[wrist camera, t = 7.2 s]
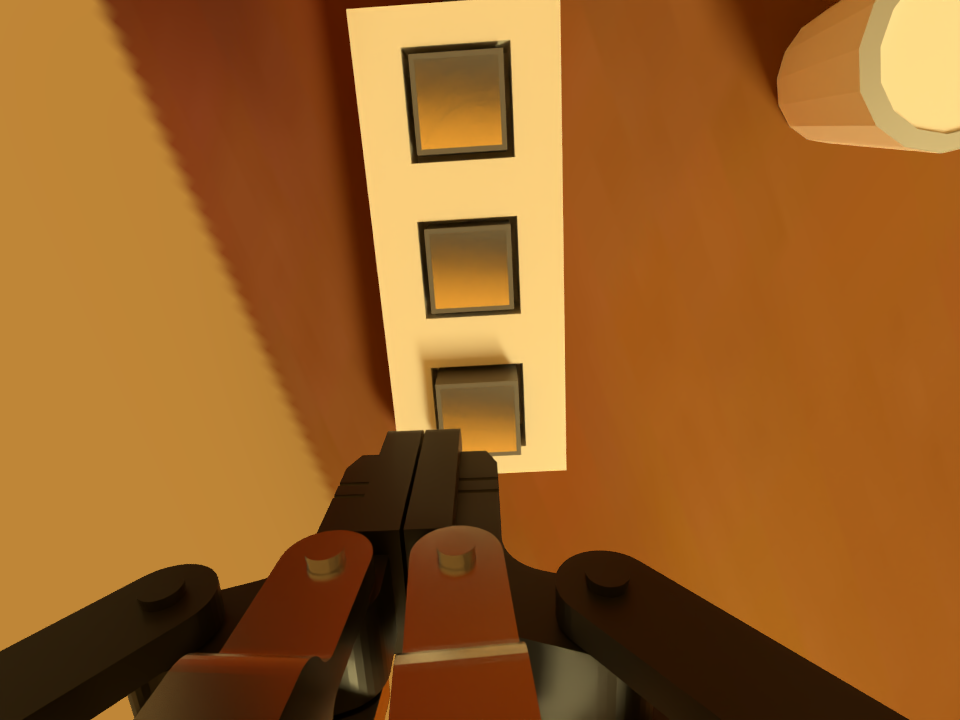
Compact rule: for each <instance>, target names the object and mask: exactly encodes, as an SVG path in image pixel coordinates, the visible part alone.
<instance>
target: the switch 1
mask: <svg viewBox="0 0 960 720" xmlns="http://www.w3.org/2000/svg"><path fill="white" fill-rule="evenodd" d="M408 60H409V71H410V82H411V93H412V104H413V115H414V126H415V137H416V148H417V155H418V156H422V157H428V156H444V155H459V154H474V153H490V152H505V151H506V150H507V128H506V104H505V81H504V57H503V48H490V49H476V50H462V51H448V52H434V53H419V54H408Z"/></svg>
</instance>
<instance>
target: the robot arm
mask: <svg viewBox="0 0 960 720" xmlns="http://www.w3.org/2000/svg"><path fill="white" fill-rule="evenodd" d="M394 654H396V656H395V660H394V667H393V677H392V689H391V699H390V686H389V675H390V672H391V666H392V660H393V655H394ZM127 695H128V698H129V702H130V705H131V708H132V711H133V715H134V720H384V719H385V715H386V712H387V708H388V704H389V699H390V710H389V720H909V719H907V718H905V717H904V716H902V715H900V714H899V713H897V712H895V711H893V710H892V709H890V708H888V707H887V706H885V705H883V704H882V703H880V702H878V701H876V700H875V699H873V698H871V697H870V696H868V695H866V694H865V693H863V692H861V691H859V690H858V689H856V688H854V687H853V686H851V685H849V684H848V683H846V682H844V681H842V680H841V679H839V678H837V677H836V676H834V675H832V674H831V673H829V672H827V671H825V670H824V669H822V668H820V667H819V666H817V665H815V664H814V663H812V662H810V661H808V660H807V659H805V658H803V657H802V656H800V655H798V654H797V653H795V652H793V651H791V650H790V649H788V648H786V647H785V646H783V645H781V644H780V643H778V642H776V641H774V640H773V639H771V638H769V637H768V636H766V635H764V634H763V633H761V632H759V631H757V630H756V629H754V628H752V627H751V626H749V625H747V624H746V623H744V622H742V621H740V620H739V619H737V618H735V617H734V616H732V615H730V614H729V613H727V612H725V611H723V610H722V609H720V608H718V607H717V606H715V605H713V604H711V603H710V602H708V601H706V600H705V599H703V598H701V597H700V596H698V595H696V594H694V593H693V592H691V591H689V590H688V589H686V588H684V587H683V586H681V585H679V584H677V583H676V582H674V581H672V580H671V579H669V578H667V577H666V576H664V575H662V574H660V573H659V572H657V571H655V570H654V569H652V568H650V567H649V566H647V565H645V564H643V563H642V562H640V561H638V560H636V559H634V558H632V557H630V556H627V555H625V554H621V553H617V552H611V551H588V552H583V553H580V554H577V555H575V556H573V557H571V558H569V559H567V560H566V561H565V562H564V563H563V564H562V565H561V566H560V567H559V569H558V571H557V573H552V572H547V571H542V570H538V569H534V568H531V567H529V566H526V565H524V564H522V563H520V562H519V561H517V560H516V559H514V558H513V557H512V556H511V555H510V554H509V553H508V552H507V551H506V549H505V548H504V545H503V543H502V536H501V519H500V502H499V485H498V468H497V462H496V461H495V460H494V458H493V457H492V456H491V455H490V454H489V453H488V452H487V451H462V436H461V429H460V428H459V429H433V430H426V431H425V433H424V430H411V431H388V433H387V435H386V438H385V441H384V443H383V446H382V449H381V452H380V454H379V455H363V456H362V457H360V458H359V459H358V460H357V461H355V462H354V463H353V464H352V465H350V466H349V467H348V468H347V469H346V471H345V473H344V476H343V478H342V480H341V482H340V486H338V489H337V491H336V493H335V495H334V498H333V499H332V501H331V504H330V506H329V508H328V510H327V512H326V514H325V517H324V519H323V521H322V523H321V525H320V527H319V530H318V532H317V534H315V535H311V536H309V537H306V538H304V539H302V540H300V541H298V542H297V543H295V544H294V545H292V546H291V547H290V548H289V549H288V550H287V551H285V553H284V554H283V555H282V556H281V558H280V560H279V561H278V562H277V564H276V566H275V567H274V569H273V570H272V572H271V573H270V575H269V576H268V578H266V579H262V580H259V581H255V582H251V583H247V584H244V585H240V586H235V587H231V588H228V589H223V590H221V589H220V584H219V580H218V577H217V574H216V573H215V572H214V571H213V570H212V569H210V568H209V567H206V566H203V565H197V564H184V565H177V566H172V567H168V568H164V569H161V570H158V571H155V572H153V573H151V574H148V575H146V576H144V577H142V578H140V579H138V580H136V581H134V582H132V583H130V584H129V585H127V586H125V587H123V588H121V589H119V590H117V591H115V592H113V593H111V594H109V595H107V596H105V597H104V598H102V599H100V600H98V601H96V602H94V603H92V604H90V605H88V606H86V607H85V608H82V609H81V610H79V611H77V612H75V613H73V614H71V615H69V616H67V617H65V618H63V619H61V620H59V621H58V622H56V623H54V624H52V625H50V626H48V627H46V628H44V629H42V630H40V631H38V632H37V633H35V634H33V635H31V636H29V637H27V638H25V639H23V640H21V641H19V642H17V643H16V644H13V645H11V646H10V647H8V648H6V649H4V650H2V651H0V720H91V719H92V718H94V717H95V716H97V715H98V714H100V713H101V712H103V711H104V710H106V709H108V708H109V707H111V706H112V705H114V704H115V703H117V702H118V701H120V700H121V699H123V698H124V697H126V696H127Z"/></svg>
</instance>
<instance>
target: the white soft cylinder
mask: <svg viewBox="0 0 960 720" xmlns="http://www.w3.org/2000/svg"><path fill="white" fill-rule="evenodd" d="M777 92H778V105H779V107H780V109H781V111H782V113H783V115H784V117H785V119H786V121H787V123H788V125H789V126H790V127H791V128H792V129H794V130H795V131H796V132H798V133H799V134H801V135H802V136H803V137H805V138H806V139H807V140H813V141H819V142H825V143H832V144H843V145H854V146H865V147H876V148H887V149H898V150H909V151H920V152H931V153H944V152H949V151H953V150H957V149H960V0H841V1H839V2H838V3H836V4H835V5H833V6H832V7H830V8H829V9H827V10H826V11H824V12H823V13H821V14H820V15H819V16H817V17H816V18H815V19H813V20H812V21H810V22H809V23H808V24H806V25H805V26H804V27H802V28H801V29H800V31H799V32H798V34H797V35H796V37H795V38H794V39H793V41H792V42H791V44H790V45H789V47H788V48H787V49H786V51H785V53H784V56H783V59H782V63H781V66H780V70H779V73H778V76H777Z"/></svg>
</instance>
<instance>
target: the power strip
mask: <svg viewBox="0 0 960 720" xmlns="http://www.w3.org/2000/svg"><path fill="white" fill-rule="evenodd" d="M346 13H347V21H348V29H349V38H350V46H351V55H352V63H353V71H354V80H355V88H356V96H357V105H358V113H359V121H360V130H361V138H362V146H363V155H364V163H365V171H366V180H367V188H368V196H369V205H370V213H371V221H372V230H373V238H374V247H375V255H376V263H377V272H378V280H379V288H380V297H381V305H382V313H383V322H384V330H385V338H386V347H387V355H388V363H389V372H390V380H391V388H392V397H393V405H394V413H395V422H396V430H397V431H411V430H424V433H425V431H426V430H433V429H439V421H438V410H437V399H436V389H435V383H436V379H437V375H438V371H439V368H440V367H459V366H477V365H496V364H515V363H516V370H517V376H518V389H519V413H520V437H521V455H508V456H492V457H493V458H494V460H495V461H496V462H497V468H498V473H514V472H535V471H556V470H566V412H565V336H564V259H563V183H562V106H561V30H560V0H444V2H437V3H423V4H409V5H396V6H382V7H369V8H355V9H346ZM490 48H503V57H504V81H505V104H506V128H507V150H506V151H505V152H490V153H474V154H459V155H444V156H428V157H422V156H418V155H417V148H416V137H415V126H414V115H413V104H412V93H411V82H410V71H409V60H408V54H419V53H434V52H448V51H462V50H476V49H490ZM491 220H509V222H510V224H511V246H512V269H513V293H514V309H508V310H490V311H472V312H455V313H437V314H432V313H431V302H430V291H429V280H428V269H427V258H426V247H425V236H424V229H425V228H426V227H427V226H428V225H429V224H443V223H459V222H475V221H491Z"/></svg>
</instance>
